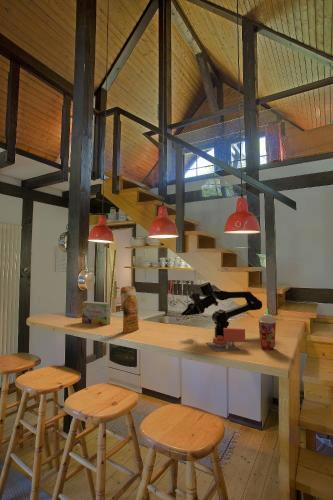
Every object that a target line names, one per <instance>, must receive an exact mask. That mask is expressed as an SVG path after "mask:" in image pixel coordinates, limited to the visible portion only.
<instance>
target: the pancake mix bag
mask: <svg viewBox="0 0 333 500" xmlns="http://www.w3.org/2000/svg"><path fill="white" fill-rule="evenodd" d="M120 299H121V309H122V318H123V319H122V321H123V322H122V326H123V327H122V334H129V333H130V334H131V333H133V332H135V331H138V330H139V329H140V327H139V305H138V304H139V303H138V295H137V289H136V287H135V285H131V286H130V285H129V286H123V287H121V288H120Z"/></svg>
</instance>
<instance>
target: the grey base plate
mask: <svg viewBox="0 0 333 500" xmlns="http://www.w3.org/2000/svg"><path fill="white" fill-rule="evenodd" d="M205 343H206V345H207V344H208V345H209V346H210V347H209V346H208V345H207V346H208V347H209V348H210V349H212V350H213V351H214V352H215V351H220V352H234V351H235V350H239V351H241V348H240V347H238V346H237V345H236V344H235V343H236V341H227V343H226V344H215V343H213V341H208V342H207V341H206V342H205ZM235 352H236V351H235Z"/></svg>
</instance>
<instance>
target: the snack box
mask: <svg viewBox="0 0 333 500" xmlns="http://www.w3.org/2000/svg"><path fill="white" fill-rule="evenodd" d="M81 323H82V324H83V323H84V324H90V325H91V324H92V325H99V326H108V325H110V324H111V302H101V301H89V300H88V301H87V300H85V301H82V302H81Z"/></svg>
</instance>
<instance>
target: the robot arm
mask: <svg viewBox="0 0 333 500" xmlns="http://www.w3.org/2000/svg"><path fill="white" fill-rule="evenodd" d="M198 287H199V290H200V292H201V294H202V295H203V296H205V297H203V298H201V294H200V293H199V292H197V293H196V292H195V291H193V292H191V294H190V295H188V298H189V299H191V300H192V301H193V302H190V303H188V304H187V306H186V309H184V310H183V311H182V312H181V314H180V315H181V316H186V317H187V316H194V315H202V314H204V313H205V309H209V308H210V306H213V305H214V306H215V307H218V306H219V301H226V300H230V299H244V300H245V303H244V304H242V305H239V306H236V307H234V308H231V309H228V310H225V309H218V310H215V311H214V312H213V313H212V314H211V319H212V321H213V322H214V324H215V327H214V335H215V336H216V337H217V336H218V335H221V336H223V338H224V328H228V327H229V326H230V325H229V324H230V322H229V321H228V320H229V319H231V318H233V317H236V316H238V315H240V314H241V315H242V314H244V313H246V312H249V311H258V310H261V309H262V308H263V302H262V300H260V299H259V298H258V297H256V296H255V295H253V294H252V292H251V291H249V290H244V291H243V290H241V291H227V290H220V289H216V290H214V289H213V288H212V284H211V282H205V283H201V284H199V285H198ZM217 300H218V301H217Z"/></svg>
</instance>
